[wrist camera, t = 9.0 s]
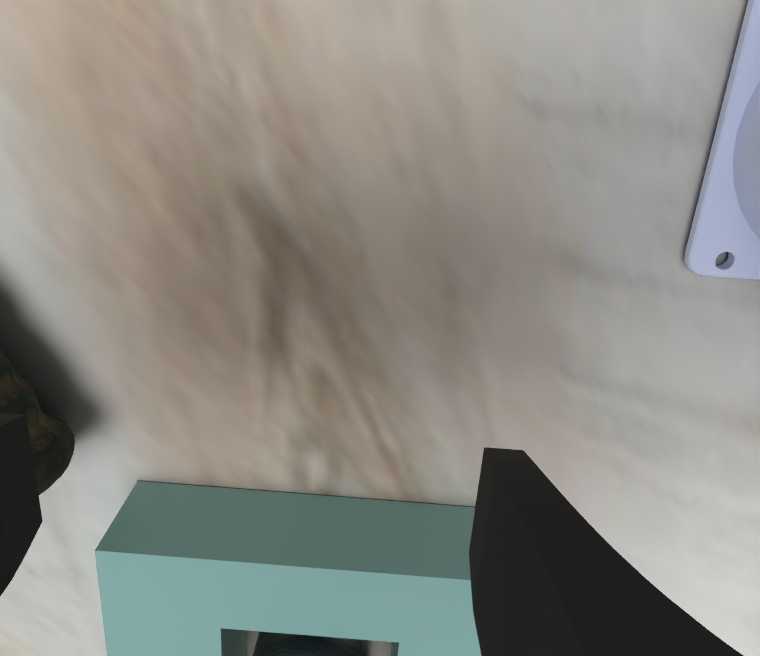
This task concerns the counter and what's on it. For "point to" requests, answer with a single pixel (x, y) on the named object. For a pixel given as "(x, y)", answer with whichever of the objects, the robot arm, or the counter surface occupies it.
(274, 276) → the counter surface
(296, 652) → the pin
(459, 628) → the hole block
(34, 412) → the tool
